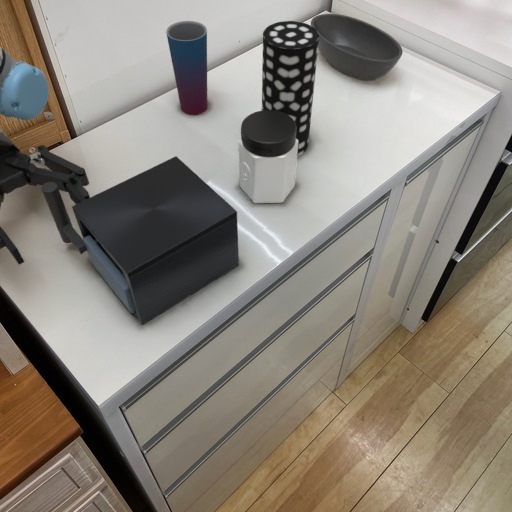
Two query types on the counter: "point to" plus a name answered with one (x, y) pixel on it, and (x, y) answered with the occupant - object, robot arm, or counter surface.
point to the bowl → (356, 46)
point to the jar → (268, 156)
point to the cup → (189, 64)
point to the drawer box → (163, 234)
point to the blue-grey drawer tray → (87, 245)
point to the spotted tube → (290, 73)
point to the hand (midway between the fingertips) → (57, 235)
